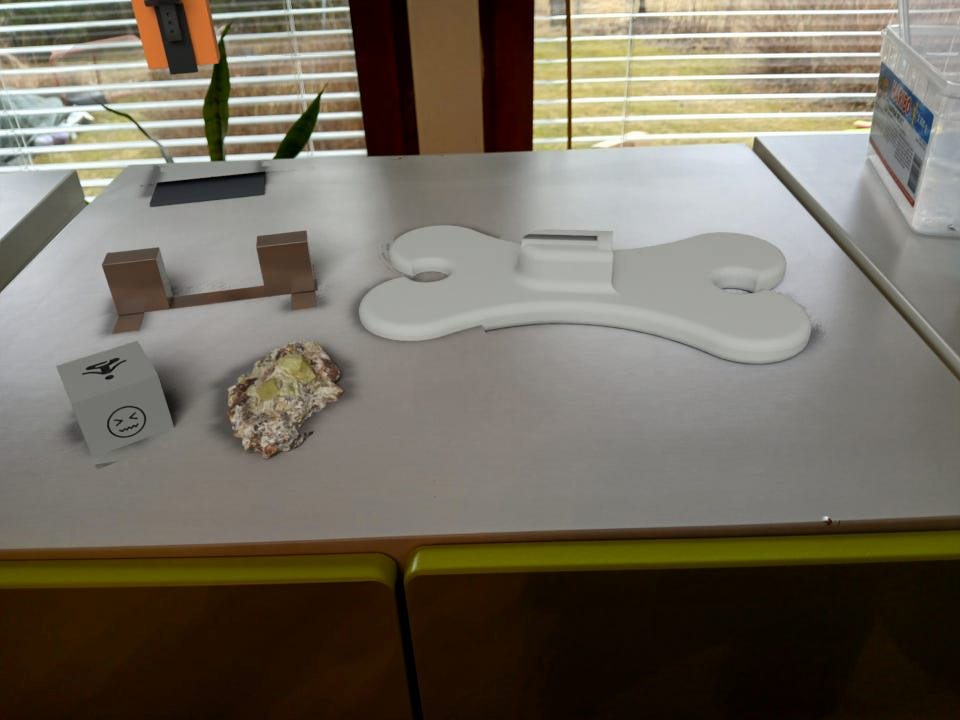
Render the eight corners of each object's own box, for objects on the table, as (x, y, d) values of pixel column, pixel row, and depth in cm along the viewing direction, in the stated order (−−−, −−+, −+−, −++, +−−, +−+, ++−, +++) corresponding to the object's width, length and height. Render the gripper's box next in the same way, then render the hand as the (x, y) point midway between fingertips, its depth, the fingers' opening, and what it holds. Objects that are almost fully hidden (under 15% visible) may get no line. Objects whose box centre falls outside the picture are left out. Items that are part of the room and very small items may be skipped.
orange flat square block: (152, 63, 83) (134, -10, 80) (220, 57, 85) (205, -14, 81) (148, 69, 81) (129, -5, 77) (218, 63, 82) (203, -10, 78)
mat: (163, 169, 95) (163, 166, 95) (266, 159, 97) (265, 156, 96) (150, 206, 85) (149, 203, 85) (264, 194, 87) (263, 191, 87)
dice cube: (157, 401, 55) (137, 340, 52) (177, 439, 51) (158, 375, 48) (80, 428, 53) (55, 365, 50) (96, 469, 49) (71, 404, 46)
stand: (129, 297, 68) (110, 238, 65) (317, 274, 70) (308, 216, 67) (112, 345, 61) (91, 282, 58) (321, 318, 64) (310, 256, 61)
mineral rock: (236, 338, 57) (338, 313, 55) (264, 385, 59) (362, 362, 57) (181, 437, 48) (299, 411, 46) (215, 487, 50) (329, 464, 49)
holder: (402, 241, 75) (397, 191, 73) (773, 251, 71) (783, 198, 68) (347, 348, 60) (338, 290, 57) (819, 371, 55) (835, 308, 52)
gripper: (154, -213, 64) (217, 84, 77) (176, -203, 77) (227, 49, 90) (56, -210, 63) (137, 91, 76) (95, -200, 76) (159, 55, 89)
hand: (186, 68), depth 83 cm, fingers closed on orange flat square block, 3 cm apart
